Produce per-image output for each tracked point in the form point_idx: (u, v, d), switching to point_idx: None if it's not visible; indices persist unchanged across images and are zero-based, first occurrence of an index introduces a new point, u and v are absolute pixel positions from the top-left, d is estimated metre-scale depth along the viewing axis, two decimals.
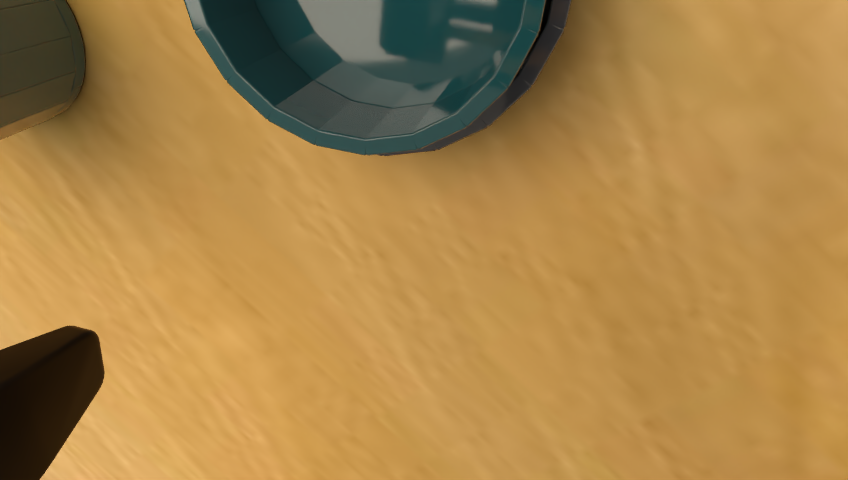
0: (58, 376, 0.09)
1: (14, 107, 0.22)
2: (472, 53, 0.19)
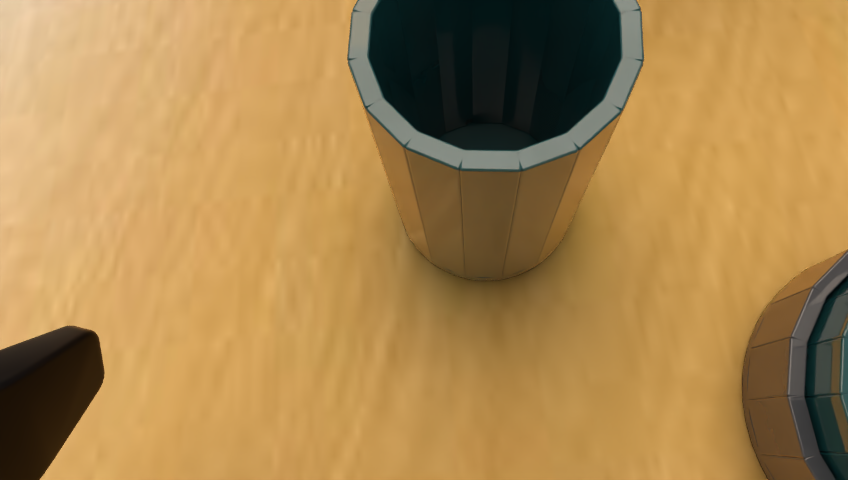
0: (58, 376, 0.09)
1: (525, 250, 0.20)
2: None
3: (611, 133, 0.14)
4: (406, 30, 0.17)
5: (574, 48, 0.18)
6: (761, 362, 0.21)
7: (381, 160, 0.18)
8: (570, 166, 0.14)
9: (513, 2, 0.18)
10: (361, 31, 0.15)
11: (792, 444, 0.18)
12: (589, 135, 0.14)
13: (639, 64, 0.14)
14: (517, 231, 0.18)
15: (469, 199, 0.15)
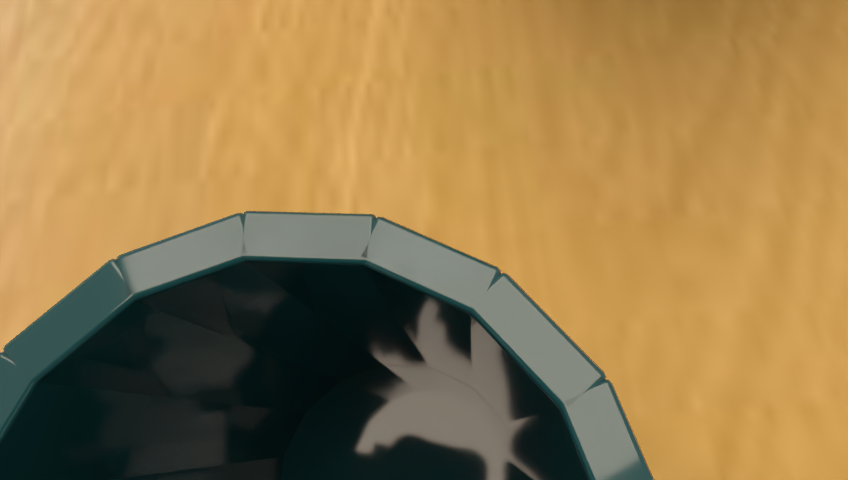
0: None
1: None
2: None
3: None
4: (160, 389, 0.08)
5: (523, 411, 0.08)
6: None
7: None
8: None
9: (396, 314, 0.08)
10: None
11: None
12: None
13: None
14: None
15: None
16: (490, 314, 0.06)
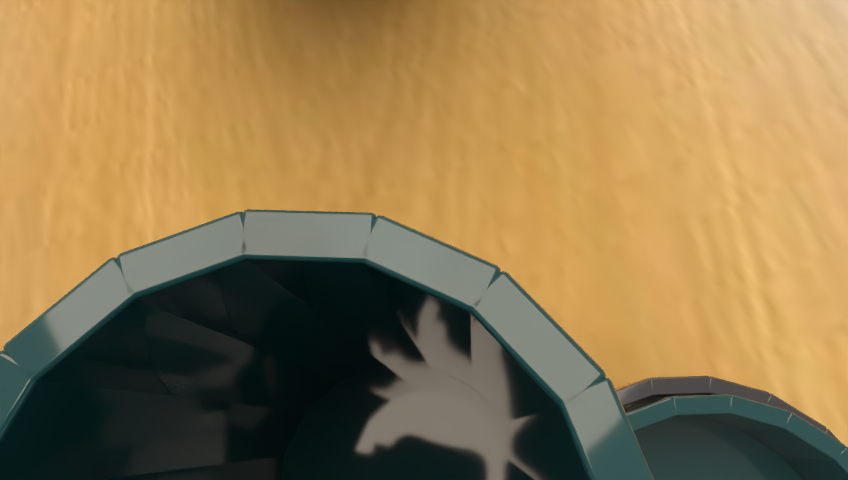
0: None
1: None
2: None
3: None
4: (159, 388, 0.08)
5: (523, 409, 0.08)
6: None
7: None
8: None
9: (395, 313, 0.08)
10: None
11: None
12: None
13: None
14: None
15: None
16: (490, 312, 0.06)
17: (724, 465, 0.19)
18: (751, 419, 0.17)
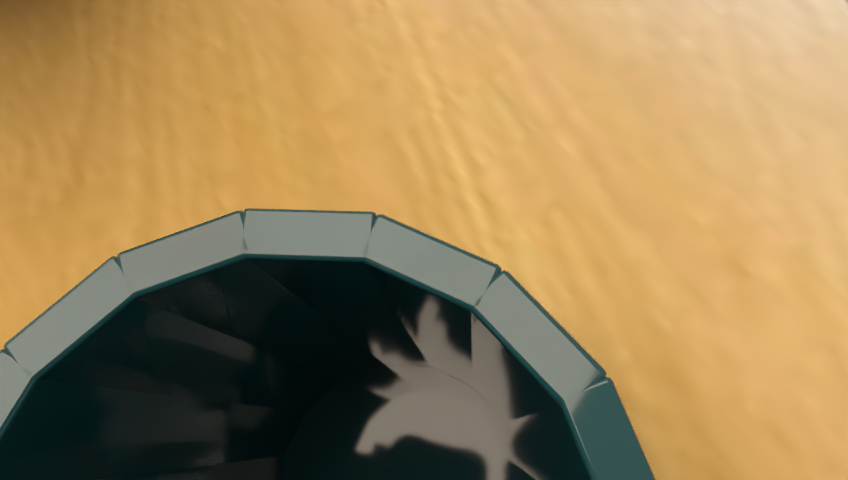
0: None
1: None
2: None
3: None
4: (160, 388, 0.08)
5: (523, 408, 0.08)
6: None
7: None
8: None
9: (396, 312, 0.08)
10: None
11: None
12: None
13: None
14: None
15: None
16: (490, 311, 0.06)
17: None
18: None
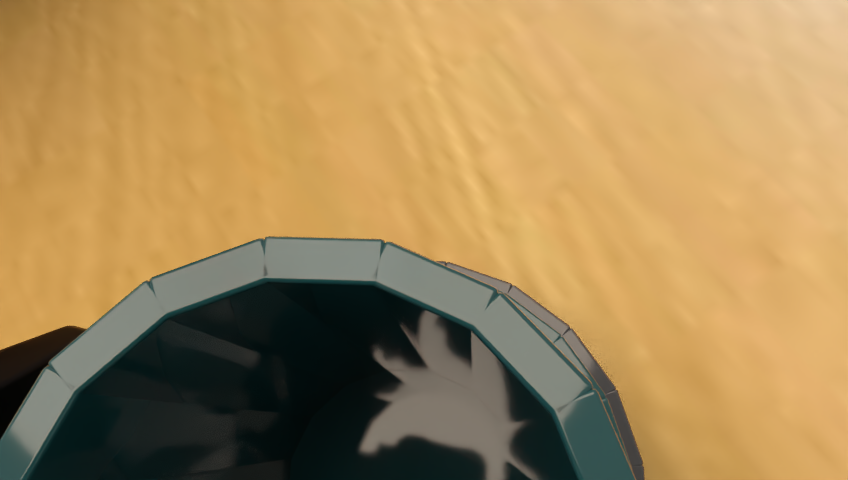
0: None
1: None
2: None
3: None
4: (183, 397, 0.09)
5: (520, 414, 0.09)
6: None
7: None
8: None
9: (401, 326, 0.09)
10: None
11: None
12: None
13: None
14: None
15: None
16: (488, 330, 0.06)
17: None
18: None
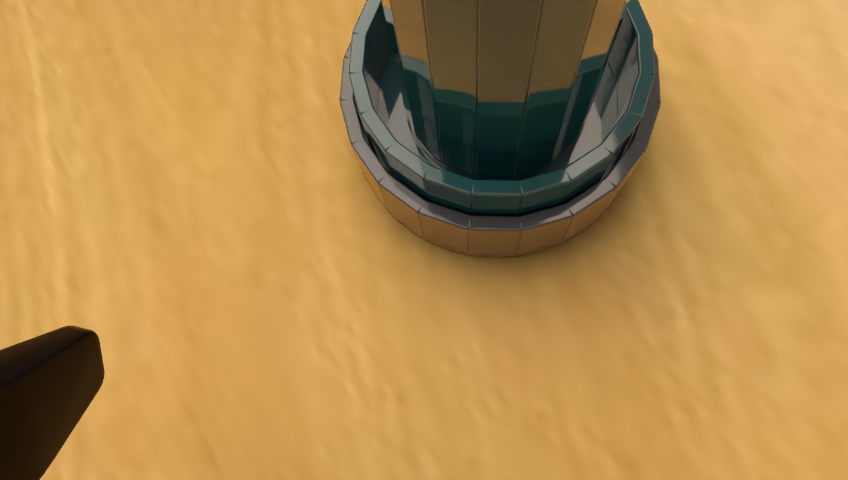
0: (58, 376, 0.09)
1: (540, 132, 0.19)
2: None
3: None
4: None
5: None
6: None
7: (390, 26, 0.17)
8: None
9: None
10: None
11: (373, 180, 0.22)
12: None
13: None
14: (534, 95, 0.17)
15: (486, 36, 0.14)
16: None
17: None
18: None
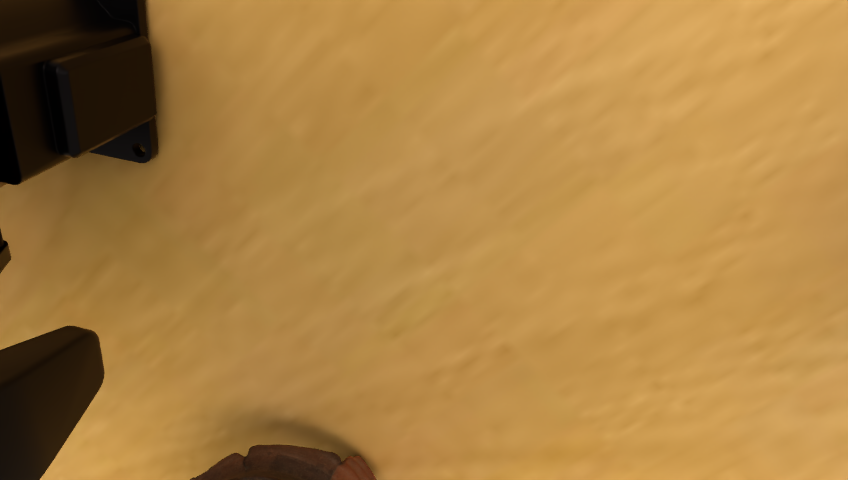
0: (58, 376, 0.09)
1: None
2: None
3: None
4: None
5: None
6: None
7: None
8: None
9: None
10: None
11: None
12: None
13: None
14: None
15: None
16: None
17: None
18: None
